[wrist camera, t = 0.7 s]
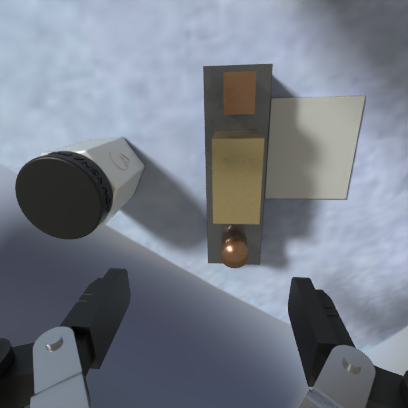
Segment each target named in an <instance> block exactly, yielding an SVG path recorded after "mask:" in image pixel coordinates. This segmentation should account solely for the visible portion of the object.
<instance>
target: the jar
mask: <svg viewBox="0 0 408 408" xmlns="http://www.w3.org/2000/svg"><path fill="white" fill-rule="evenodd" d="M144 167H145V166H144V164H143V163H142V162H141V160H140V159H139V158H138V156H137V155H136V154H135V153H134V151H133V150H132V149H131V147H130V146H129V145H128V143H127V142H126V141H125V139H124V138H123V137H109V138H95V139H87V140H84V141H80V142H77V143H74V144H70V145H67V146H64V147H61V148H57V149H54V150H51V151H47V152H44V153H42V154H41V156H40V157H37V158H35V159H32V160H31V161H29V162H28V163H26V164H25V165H24V166H23V167H22V169H21V170H20V172H19V174H18V176H17V179H16V187H15V189H16V197H17V201H18V204H19V206H20V208H21V210H22V212H23V213H24V215H25V216H26V217H27V219H28V220H29V221H30V222H31V223H32V224H33V225H34V226H36V227H37V228H38V229H40V230H41V231H43V232H44V233H46V234H48V235H51V236H53V237H56V238H60V239H78V238H81V237H84V236H86V235H88V234H90V233H91V232H92V231H94V230H95V229H96V228H97V227H98V226H99V225H100V226H101V225H105V224H106V223H107V222H108V221H109V220H110V219H111V218H112V217H113V216H114V215H115V214H116V213H117V212H118V211H119V210H120V209H121V207H122V206H123V205H124V204H125V203H126V202H127V201H128V200H129V199H130V198H131V197H132V196H133V195H134V193H135V190H136V188H137V185H138V182H139V180H140V177H141V175H142V172H143V170H144Z"/></svg>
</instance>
